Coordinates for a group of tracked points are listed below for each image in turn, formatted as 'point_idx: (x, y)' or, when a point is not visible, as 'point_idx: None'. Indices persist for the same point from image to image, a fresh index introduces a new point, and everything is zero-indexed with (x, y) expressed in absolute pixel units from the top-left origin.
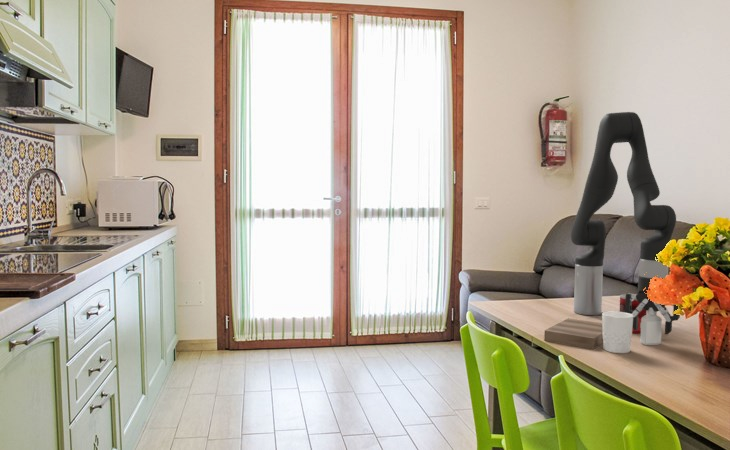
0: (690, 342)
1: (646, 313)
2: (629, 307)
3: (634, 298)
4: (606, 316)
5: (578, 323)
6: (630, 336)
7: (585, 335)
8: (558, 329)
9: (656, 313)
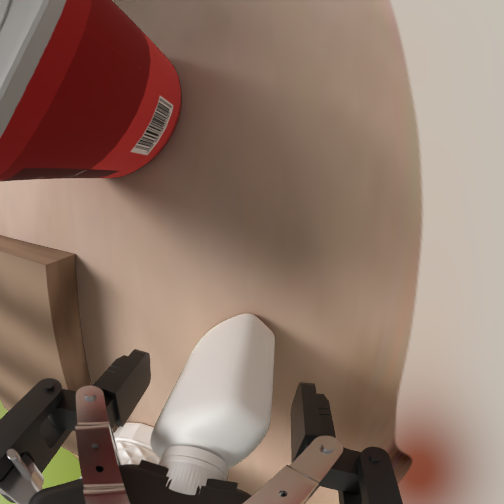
0: (408, 222)
1: (137, 62)
2: (58, 449)
3: (32, 480)
4: None
5: None
6: None
7: (68, 443)
8: (7, 395)
9: (227, 474)
